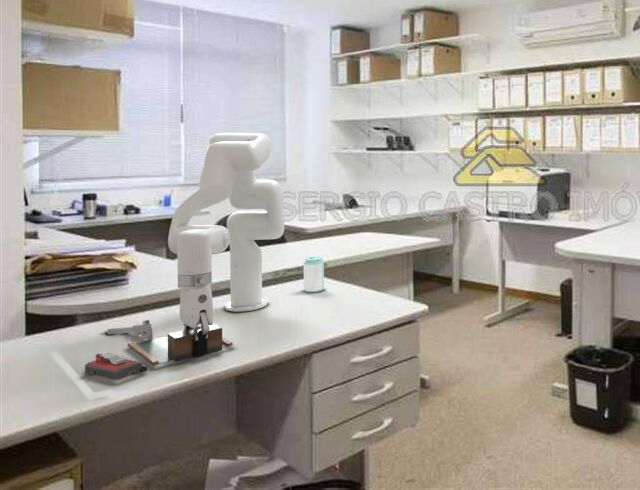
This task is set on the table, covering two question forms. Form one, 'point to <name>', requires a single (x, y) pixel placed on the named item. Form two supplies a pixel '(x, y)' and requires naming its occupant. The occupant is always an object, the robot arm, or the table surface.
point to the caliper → (135, 330)
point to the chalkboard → (159, 349)
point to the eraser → (183, 342)
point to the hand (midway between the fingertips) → (195, 351)
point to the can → (313, 274)
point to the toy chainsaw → (113, 366)
